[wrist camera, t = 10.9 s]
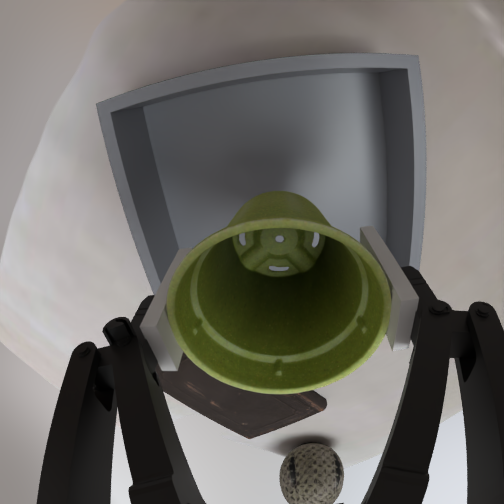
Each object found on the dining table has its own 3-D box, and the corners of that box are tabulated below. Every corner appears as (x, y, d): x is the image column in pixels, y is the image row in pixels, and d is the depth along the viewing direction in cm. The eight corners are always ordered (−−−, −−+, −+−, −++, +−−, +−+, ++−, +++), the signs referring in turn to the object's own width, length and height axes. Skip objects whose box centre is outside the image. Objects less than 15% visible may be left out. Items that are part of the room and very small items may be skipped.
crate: (135, 99, 24) (95, 103, 18) (383, 62, 21) (418, 55, 15) (190, 301, 34) (175, 345, 28) (389, 279, 31) (410, 321, 25)
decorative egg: (267, 445, 51) (264, 514, 37) (317, 426, 46) (322, 503, 33) (303, 460, 54) (305, 520, 41) (351, 442, 50) (358, 508, 37)
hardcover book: (250, 428, 48) (249, 439, 46) (141, 362, 41) (136, 373, 39) (326, 396, 42) (327, 408, 40) (213, 311, 35) (210, 324, 33)
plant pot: (213, 294, 22) (188, 391, 15) (197, 165, 18) (143, 223, 10) (342, 293, 22) (367, 390, 14) (354, 163, 17) (413, 221, 10)
